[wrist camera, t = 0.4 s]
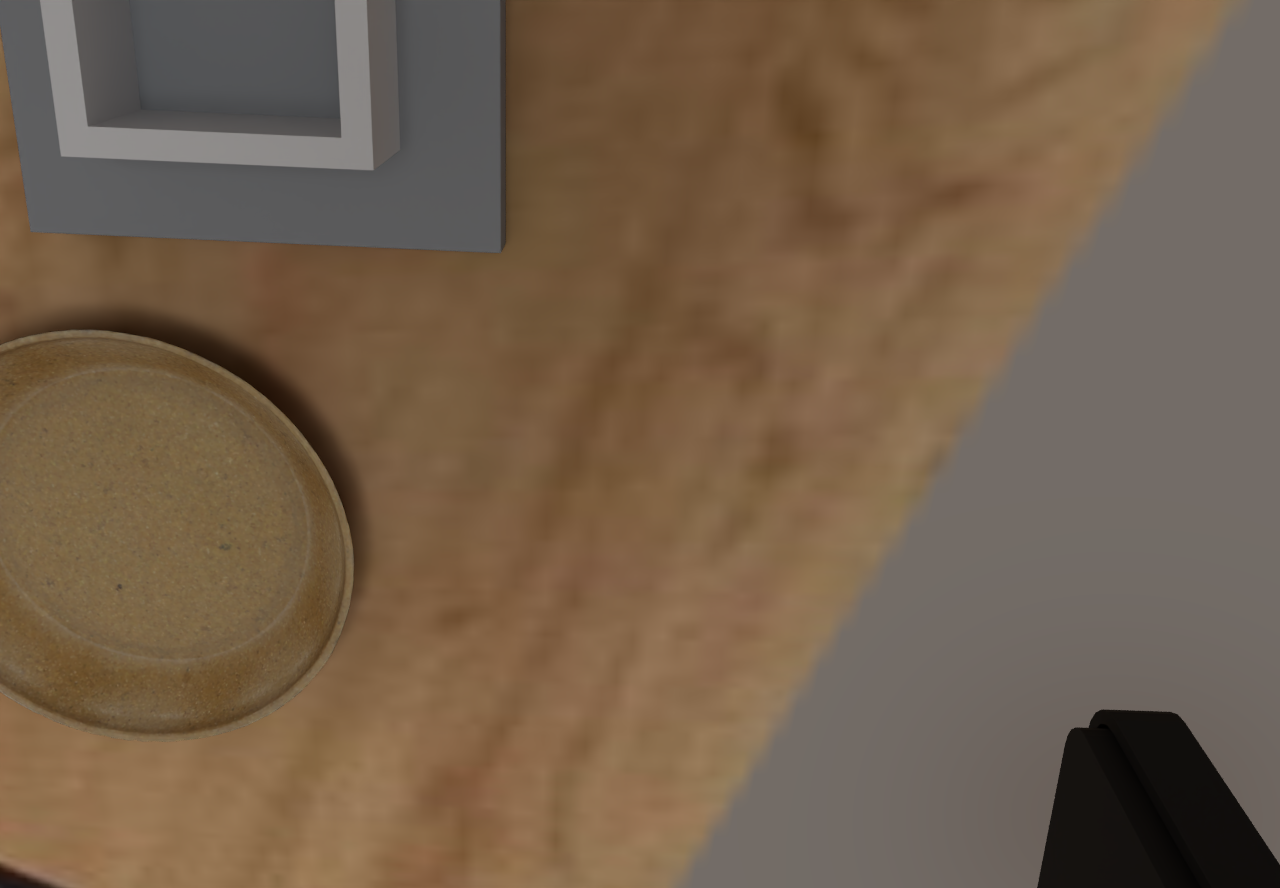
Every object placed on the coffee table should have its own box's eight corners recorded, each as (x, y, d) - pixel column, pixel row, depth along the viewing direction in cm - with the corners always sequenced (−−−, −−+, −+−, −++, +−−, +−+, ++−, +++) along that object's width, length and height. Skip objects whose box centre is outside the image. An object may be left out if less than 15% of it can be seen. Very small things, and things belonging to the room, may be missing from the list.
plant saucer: (363, 319, 39) (344, 344, 36) (377, 711, 44) (360, 755, 42) (-102, 293, 39) (-153, 316, 36) (-31, 688, 44) (-71, 731, 42)
